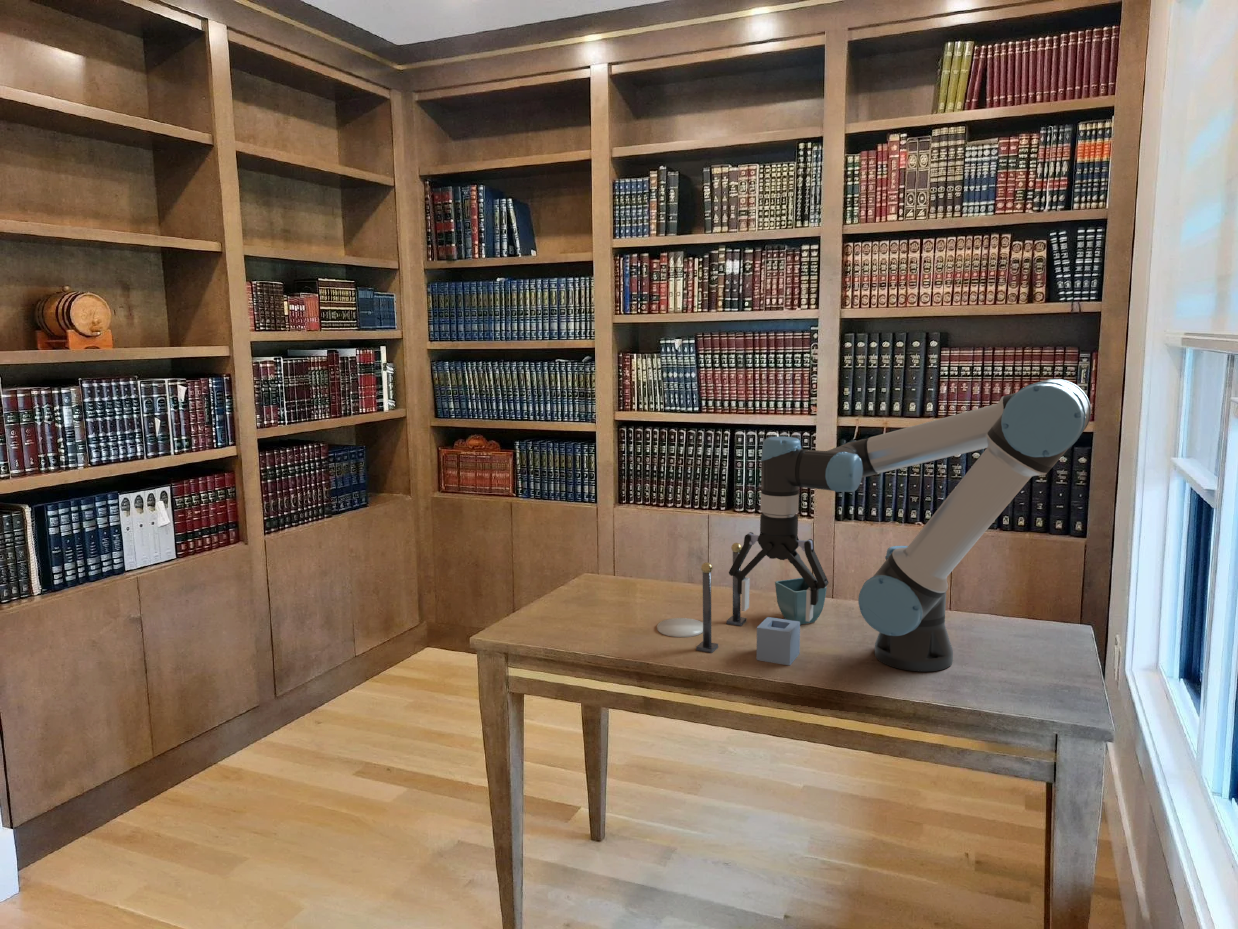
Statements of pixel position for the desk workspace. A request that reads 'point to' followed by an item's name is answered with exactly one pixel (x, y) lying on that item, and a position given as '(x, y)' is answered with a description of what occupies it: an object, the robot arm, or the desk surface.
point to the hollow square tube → (778, 641)
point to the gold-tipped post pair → (733, 620)
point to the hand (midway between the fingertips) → (776, 614)
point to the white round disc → (680, 627)
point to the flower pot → (797, 600)
